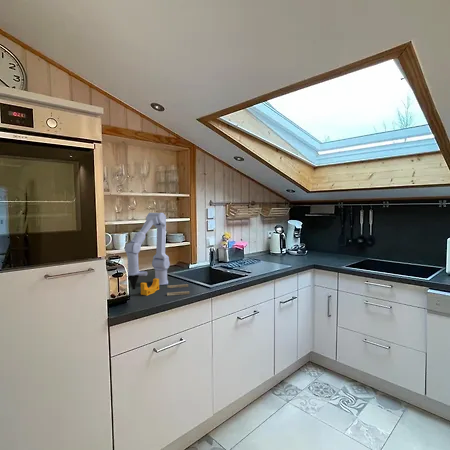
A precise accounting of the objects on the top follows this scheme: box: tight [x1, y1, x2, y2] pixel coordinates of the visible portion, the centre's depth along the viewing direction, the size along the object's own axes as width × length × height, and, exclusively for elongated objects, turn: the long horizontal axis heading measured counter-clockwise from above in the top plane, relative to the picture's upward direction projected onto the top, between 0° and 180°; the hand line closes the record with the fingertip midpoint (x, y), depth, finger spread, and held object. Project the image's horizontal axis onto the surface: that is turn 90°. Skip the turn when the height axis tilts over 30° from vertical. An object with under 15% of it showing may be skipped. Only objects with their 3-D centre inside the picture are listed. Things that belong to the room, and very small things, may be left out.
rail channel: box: [166, 283, 190, 296], centre depth 171 cm, size 16×12×1 cm
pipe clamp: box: [140, 277, 160, 297], centre depth 169 cm, size 12×4×6 cm, turn 152°
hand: (133, 288), depth 166 cm, fingers closed
